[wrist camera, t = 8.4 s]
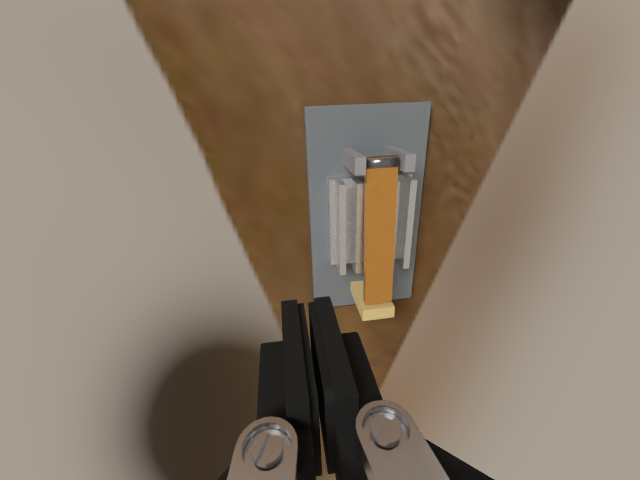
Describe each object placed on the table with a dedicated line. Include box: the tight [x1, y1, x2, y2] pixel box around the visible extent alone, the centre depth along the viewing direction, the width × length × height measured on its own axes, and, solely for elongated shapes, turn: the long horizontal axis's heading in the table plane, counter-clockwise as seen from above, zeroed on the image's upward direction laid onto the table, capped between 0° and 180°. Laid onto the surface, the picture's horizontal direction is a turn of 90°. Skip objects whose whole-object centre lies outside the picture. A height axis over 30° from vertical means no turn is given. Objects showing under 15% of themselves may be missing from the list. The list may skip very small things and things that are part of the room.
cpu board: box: [304, 102, 431, 321], centre depth 33 cm, size 24×13×7 cm, turn 2°
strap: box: [363, 155, 399, 305], centre depth 31 cm, size 16×3×1 cm, turn 2°
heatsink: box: [327, 172, 418, 275], centre depth 34 cm, size 10×9×4 cm
